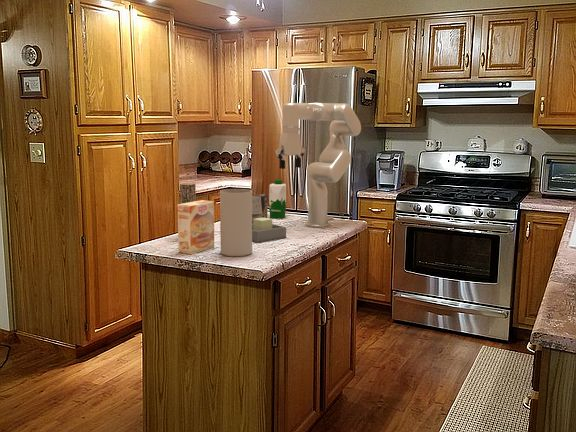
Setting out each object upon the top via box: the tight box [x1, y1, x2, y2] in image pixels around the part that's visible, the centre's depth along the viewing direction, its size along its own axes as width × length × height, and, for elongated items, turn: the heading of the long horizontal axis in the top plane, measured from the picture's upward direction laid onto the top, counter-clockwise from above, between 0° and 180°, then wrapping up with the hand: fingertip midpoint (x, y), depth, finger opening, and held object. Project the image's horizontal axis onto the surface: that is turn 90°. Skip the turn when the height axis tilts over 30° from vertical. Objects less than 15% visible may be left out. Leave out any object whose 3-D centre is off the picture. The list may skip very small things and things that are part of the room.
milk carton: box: [268, 179, 287, 220], centre depth 306 cm, size 9×9×20 cm
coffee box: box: [252, 193, 269, 225], centre depth 278 cm, size 9×6×16 cm
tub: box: [252, 223, 287, 244], centre depth 255 cm, size 16×13×5 cm
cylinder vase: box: [219, 188, 253, 258], centre depth 225 cm, size 12×12×25 cm
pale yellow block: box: [253, 217, 273, 231], centre depth 255 cm, size 6×6×8 cm
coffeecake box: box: [176, 199, 215, 255], centre depth 231 cm, size 15×7×20 cm, turn 148°
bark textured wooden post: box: [179, 181, 197, 204], centre depth 252 cm, size 7×7×25 cm
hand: (290, 168), depth 264 cm, fingers open, 9 cm apart
